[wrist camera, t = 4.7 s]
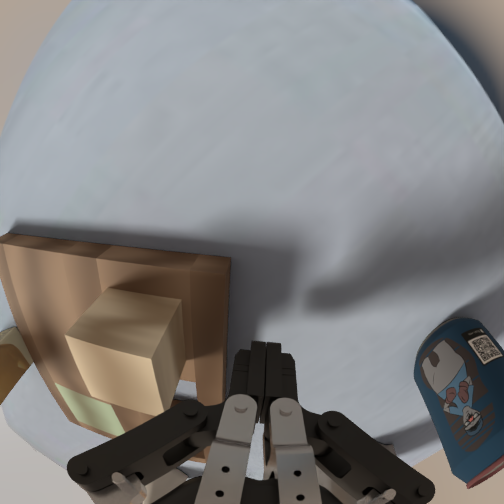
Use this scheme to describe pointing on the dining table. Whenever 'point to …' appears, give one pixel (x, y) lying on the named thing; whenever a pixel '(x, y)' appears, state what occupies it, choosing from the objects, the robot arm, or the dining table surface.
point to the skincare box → (12, 360)
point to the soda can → (465, 396)
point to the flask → (164, 485)
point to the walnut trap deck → (85, 294)
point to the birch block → (130, 349)
